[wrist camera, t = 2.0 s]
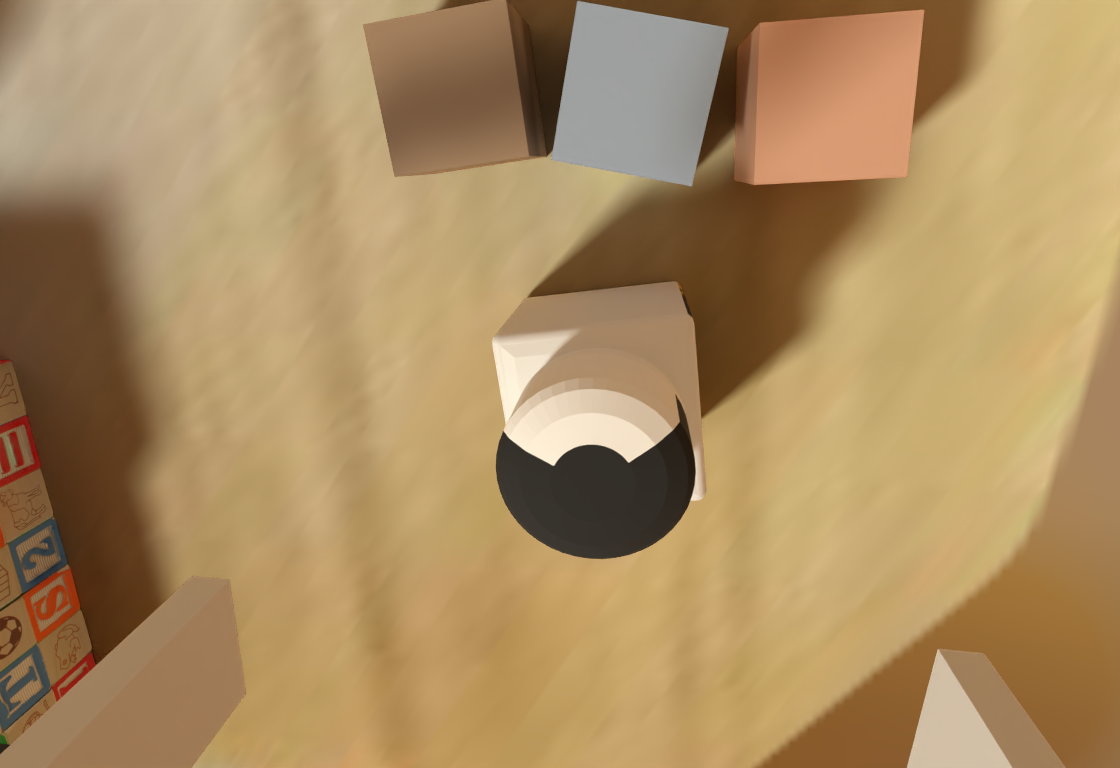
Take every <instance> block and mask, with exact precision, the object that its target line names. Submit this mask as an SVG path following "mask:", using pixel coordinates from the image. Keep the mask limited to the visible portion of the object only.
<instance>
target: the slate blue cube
mask: <svg viewBox="0 0 1120 768" xmlns="http://www.w3.org/2000/svg"><path fill="white" fill-rule="evenodd" d="M728 30H729V28H727V27H722V26H716V25H710V24H705V23H699V22H694V21H688V20H682V19H677V18H671V17H665V16H660V15H654V14H649V13H643V12H637V11H632V10H626V9H621V8H615V7H609V6H604V5H598V4H593V3H587V2H581V1H577V6H576V12H575V18H574V24H573V30H572V37H571V43H570V49H569V55H568V61H567V67H566V73H565V79H564V86H563V92H562V98H561V104H560V110H559V116H558V122H557V128H556V135H555V141H554V147H553V153H552V159H551V160H555V161H560V162H565V163H570V164H576V165H581V166H586V167H592V168H597V169H602V170H607V171H613V172H618V173H623V174H629V175H634V176H639V177H645V178H650V179H655V180H660V181H666V182H671V183H676V184H682V185H687V186H692V183H693V179H694V175H695V170H696V166H697V162H698V158H699V153H700V149H701V145H702V141H703V136H704V132H705V128H706V124H707V119H708V115H709V111H710V106H711V102H712V98H713V94H714V89H715V85H716V81H717V77H718V72H719V68H720V64H721V59H722V55H723V51H724V47H725V42H726V38H727V34H728Z"/></svg>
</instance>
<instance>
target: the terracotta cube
mask: <svg viewBox="0 0 1120 768" xmlns="http://www.w3.org/2000/svg"><path fill="white" fill-rule="evenodd" d="M924 10H925V9H924ZM924 10H912V11H899V12H887V13H874V14H862V15H849V16H837V17H825V18H812V19H800V20H787V21H775V22H762V23H759V24H758V25H757V26H756V27H755V29H754V30H753V31H752V32H751V33H750V34H749V35H748V36H747V37H746V38H745V39H744V40H743V42H742V43H741V44H740V45H739V46H738V47H737V86H736V124H735V162H734V181H738V182H743V183H748V184H752V185H762V184H781V183H800V182H819V181H838V180H857V179H876V178H896V177H907V172H908V163H909V153H910V144H911V134H912V124H913V115H914V105H915V96H916V86H917V77H918V67H919V57H920V48H921V38H922V29H923V19H924Z"/></svg>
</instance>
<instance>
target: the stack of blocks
mask: <svg viewBox="0 0 1120 768" xmlns="http://www.w3.org/2000/svg"><path fill="white" fill-rule="evenodd" d="M40 467H41V464H40V461H39V457H38V453H37V450H36V446H35V443H34V439H33V435H32V432H31V428H30V425H29V421H28V418H27V415H26V409H25V405H24V402H23V398H22V394H21V391H20V387H19V384H18V380H17V377H16V373H15V369H14V366H13V363H12V361H10V360H0V743H1V744H9V745H11V744H12V743H13V742H14V741H15V740H16V739H17V738H18V737H20V736H21V735H22V734H23V733H24V732H25V731H26V730H27V729H28V728H29V727H30V726H31V725H32V724H34V723H35V722H36V721H37V720H38V719H39V718H40V717H41V716H42V715H43V714H44V713H45V712H46V711H48V710H49V709H50V708H51V707H52V706H53V705H54V704H55V703H56V702H57V701H58V700H59V699H60V698H62V697H63V696H64V695H65V694H66V693H67V692H68V691H69V690H70V689H71V688H72V687H73V686H74V685H76V684H77V683H78V682H79V681H80V680H81V679H82V678H83V677H84V676H85V675H86V674H87V673H88V672H90V671H91V670H92V669H93V668H94V667H95V666H96V665H95V661H94V658H93V654H92V652H90V651H91V650H92V645H91V641H90V638H89V634H88V630H87V627H86V623H85V620H84V616H83V614H82V611H81V610H80V603H79V598H78V595H77V591H76V588H75V584H74V580H73V576H72V573H71V569H70V566H69V565H68V564H67V559H66V555H65V551H64V548H63V545H62V541H61V538H60V534H59V530H58V527H57V523H56V520H55V518H54V516H53V510H52V507H51V503H50V500H49V497H48V493H47V489H46V486H45V482H44V479H43V475H42V472H41V469H40Z"/></svg>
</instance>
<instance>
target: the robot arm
mask: <svg viewBox="0 0 1120 768" xmlns="http://www.w3.org/2000/svg"><path fill="white" fill-rule="evenodd" d="M245 694H246V689H245V682H244V675H243V668H242V661H241V654H240V647H239V640H238V633H237V626H236V619H235V612H234V605H233V598H232V591H231V584H230V579H219V578H209V577H199V576H192V577H191V578H190V579H189V580H188V581H186V582H185V583H184V584H183V585H182V586H181V587H180V588H179V589H178V590H177V591H176V592H175V593H174V594H172V595H171V596H170V597H169V598H168V599H167V600H166V601H165V602H164V603H163V604H162V605H161V606H160V607H158V608H157V609H156V610H155V611H154V612H153V613H152V614H151V615H150V616H149V617H148V618H147V619H146V620H144V621H143V622H142V623H141V624H140V625H139V626H138V627H137V628H136V629H135V630H134V631H133V632H132V633H130V634H129V635H128V636H127V637H126V638H125V639H124V640H123V641H122V642H121V643H120V644H119V645H118V646H116V647H115V648H114V649H113V650H112V651H111V652H110V653H109V654H108V655H107V656H106V657H105V658H104V659H102V660H101V661H100V662H99V663H98V664H97V665H96V666H95V667H94V668H93V669H92V670H91V671H90V672H88V673H87V674H86V675H85V676H84V677H83V678H82V679H81V680H80V681H79V682H78V683H77V684H76V685H74V686H73V687H72V688H71V689H70V690H69V691H68V692H67V693H66V694H65V695H64V696H63V697H62V698H60V699H59V700H58V701H57V702H56V703H55V704H54V705H53V706H52V707H51V708H50V709H49V710H48V711H46V712H45V713H44V714H43V715H42V716H41V717H40V718H39V719H38V720H37V721H36V722H35V723H34V724H32V725H31V726H30V727H29V728H28V729H27V730H26V731H25V732H24V733H23V734H22V735H21V736H20V737H18V738H17V739H16V740H15V741H14V742H13V743H12V744H11V745H9V744H1V743H0V768H192V766H193V765H194V764H195V762H196V761H197V760H198V758H199V757H200V756H201V754H202V753H203V752H204V750H205V749H206V747H207V746H208V745H209V743H210V742H211V741H212V739H213V738H214V737H215V735H216V734H217V732H218V731H219V730H220V728H221V727H222V726H223V724H224V723H225V722H226V720H227V719H228V718H229V716H230V715H231V713H232V712H233V711H234V709H235V708H236V707H237V705H238V704H239V703H240V701H241V700H242V699H243V697H244V696H245ZM907 768H1065V766H1064V765H1063V763H1062V762H1061V761H1060V759H1059V758H1058V757H1057V755H1056V754H1055V752H1054V751H1053V750H1052V748H1051V747H1050V745H1049V744H1048V742H1047V741H1046V740H1045V738H1044V737H1043V735H1042V734H1041V733H1040V731H1039V730H1038V729H1037V727H1036V726H1035V724H1034V723H1033V721H1032V720H1031V719H1030V717H1029V716H1028V714H1027V713H1026V712H1025V710H1024V709H1023V707H1022V706H1021V705H1020V703H1019V702H1018V700H1017V699H1016V698H1015V696H1014V695H1013V693H1012V692H1011V691H1010V689H1009V688H1008V687H1007V685H1006V684H1005V682H1004V681H1003V679H1002V678H1001V677H1000V675H999V674H998V673H997V671H996V670H995V668H994V667H993V666H992V664H991V663H990V661H989V660H988V658H987V657H986V656H985V654H984V653H975V652H966V651H956V650H945V649H938V651H937V655H936V659H935V662H934V666H933V670H932V674H931V678H930V681H929V685H928V689H927V693H926V697H925V701H924V705H923V709H922V712H921V716H920V720H919V724H918V727H917V732H916V735H915V739H914V743H913V747H912V751H911V755H910V758H909V762H908V766H907Z"/></svg>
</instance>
